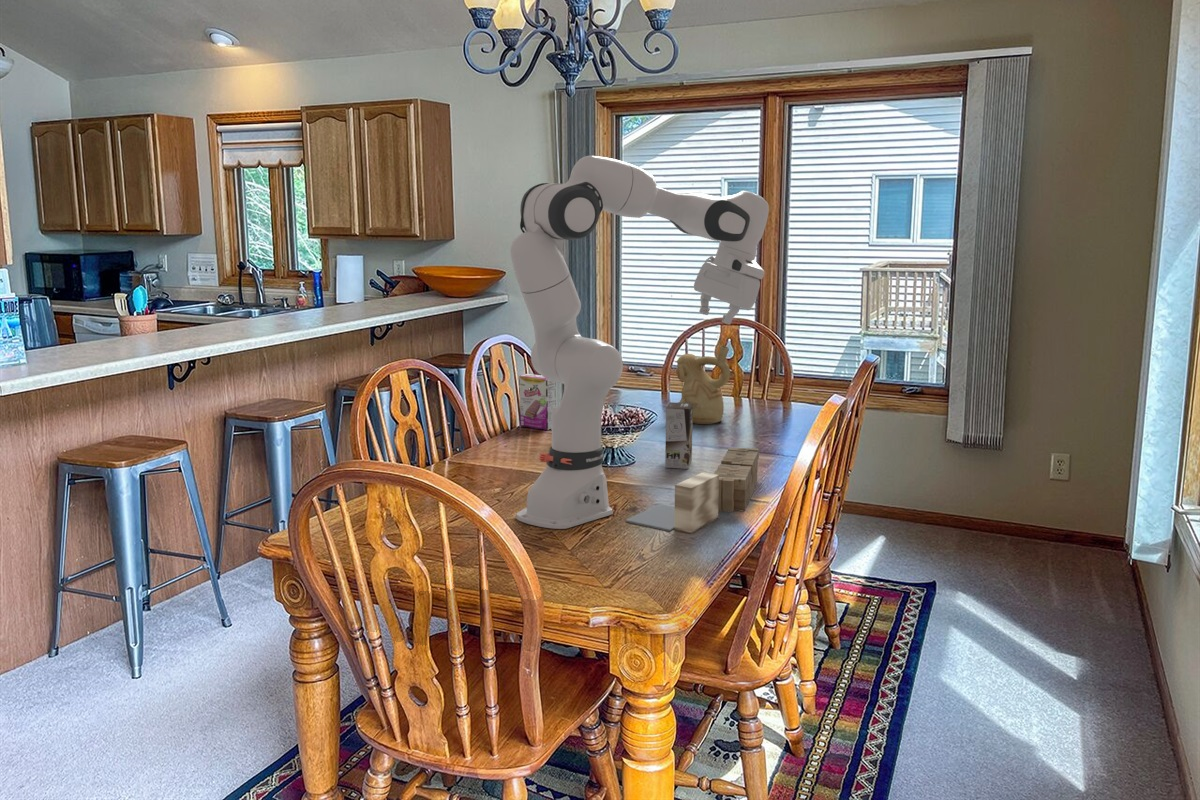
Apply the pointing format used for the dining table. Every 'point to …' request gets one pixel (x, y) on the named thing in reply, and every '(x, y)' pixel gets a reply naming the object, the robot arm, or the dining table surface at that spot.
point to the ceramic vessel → (703, 386)
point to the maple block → (696, 502)
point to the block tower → (737, 478)
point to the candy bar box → (536, 401)
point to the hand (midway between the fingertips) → (714, 318)
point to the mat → (656, 517)
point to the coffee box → (678, 435)
